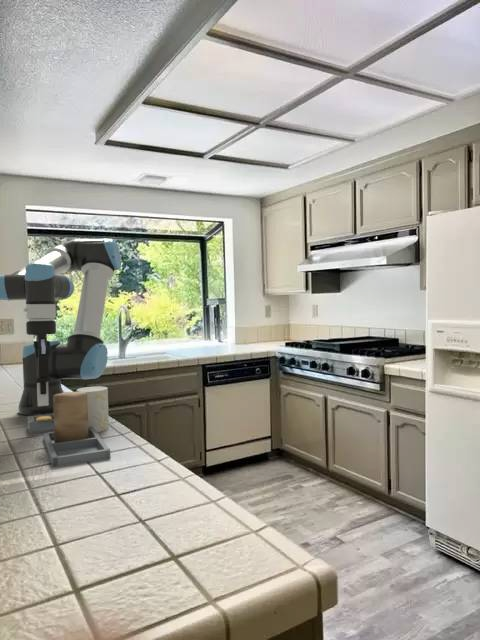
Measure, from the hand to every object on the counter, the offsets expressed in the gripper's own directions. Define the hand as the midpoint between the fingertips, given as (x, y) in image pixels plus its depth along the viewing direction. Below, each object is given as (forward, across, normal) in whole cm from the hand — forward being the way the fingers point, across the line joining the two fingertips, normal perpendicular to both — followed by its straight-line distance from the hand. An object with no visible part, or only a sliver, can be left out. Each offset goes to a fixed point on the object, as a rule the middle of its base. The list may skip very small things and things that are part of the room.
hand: (43, 405), depth 131 cm
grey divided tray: (+8, +23, +5) cm, 25 cm away
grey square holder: (+8, 0, 0) cm, 8 cm away
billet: (+7, +17, +5) cm, 19 cm away
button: (+7, 0, 0) cm, 7 cm away
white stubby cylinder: (+8, +7, +12) cm, 16 cm away
